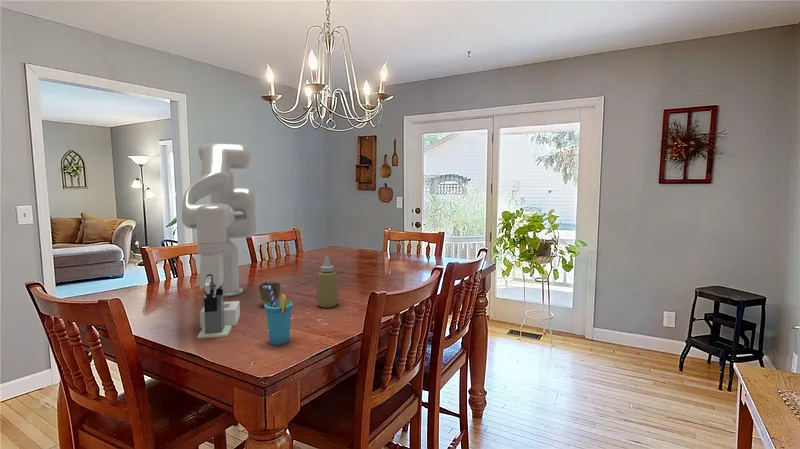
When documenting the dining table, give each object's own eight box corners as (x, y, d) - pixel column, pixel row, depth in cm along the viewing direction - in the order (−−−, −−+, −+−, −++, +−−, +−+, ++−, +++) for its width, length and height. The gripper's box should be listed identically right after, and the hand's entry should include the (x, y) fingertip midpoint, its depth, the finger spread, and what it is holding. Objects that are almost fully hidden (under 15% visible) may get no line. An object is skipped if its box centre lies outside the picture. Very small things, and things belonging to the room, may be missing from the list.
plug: (208, 328, 123) (207, 295, 122) (224, 327, 124) (223, 294, 123) (205, 333, 119) (203, 299, 118) (221, 332, 120) (220, 298, 119)
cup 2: (274, 309, 145) (274, 286, 144) (255, 307, 146) (254, 285, 146) (284, 303, 152) (284, 281, 151) (266, 302, 154) (265, 280, 153)
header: (207, 317, 135) (206, 302, 135) (240, 315, 137) (239, 300, 137) (200, 328, 125) (199, 312, 125) (235, 325, 128) (235, 309, 127)
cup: (252, 337, 118) (251, 285, 116) (277, 331, 123) (276, 281, 122) (277, 351, 108) (276, 295, 107) (303, 343, 113) (302, 289, 112)
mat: (203, 329, 125) (203, 327, 125) (231, 326, 127) (231, 325, 126) (197, 338, 117) (197, 336, 117) (227, 336, 119) (227, 334, 119)
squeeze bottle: (311, 305, 149) (310, 256, 147) (329, 301, 155) (329, 253, 153) (325, 310, 144) (324, 259, 142) (343, 305, 150) (343, 256, 148)
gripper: (204, 244, 127) (206, 299, 128) (190, 253, 110) (193, 316, 112) (230, 243, 129) (232, 297, 130) (220, 252, 112) (223, 314, 114)
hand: (214, 306), depth 121 cm, fingers open, 9 cm apart
